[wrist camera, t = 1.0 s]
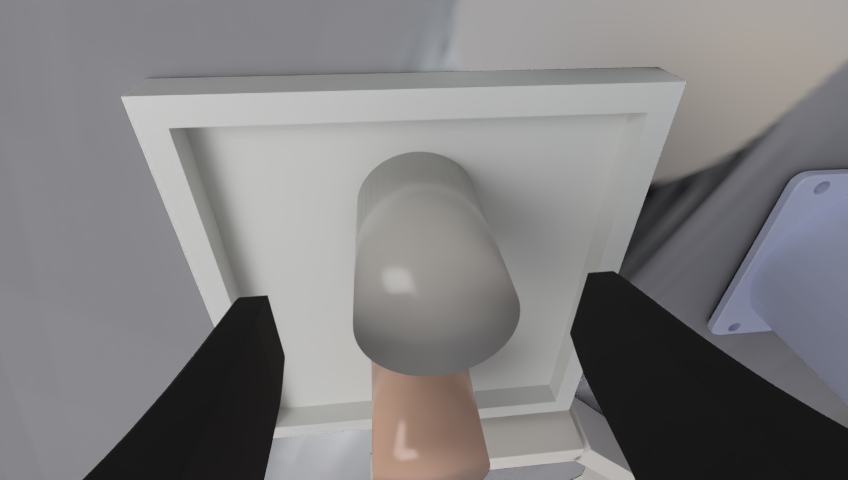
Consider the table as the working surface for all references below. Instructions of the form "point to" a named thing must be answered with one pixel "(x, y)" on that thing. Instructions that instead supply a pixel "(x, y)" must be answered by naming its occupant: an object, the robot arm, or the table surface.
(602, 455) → the bowl
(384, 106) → the parts tray
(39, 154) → the table surface
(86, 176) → the table surface
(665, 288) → the table surface
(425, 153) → the pebble
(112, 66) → the table surface
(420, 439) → the tan rounded cylinder
